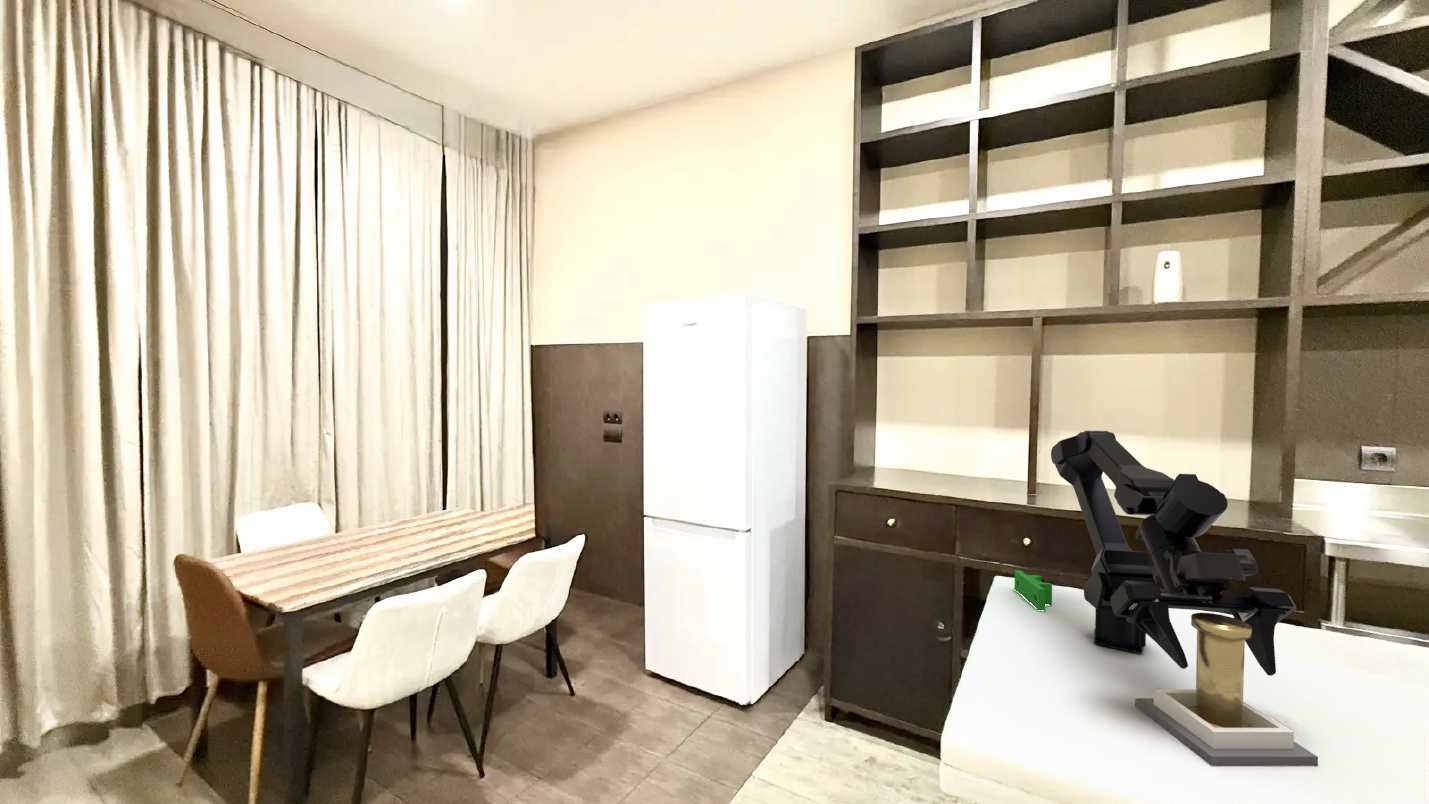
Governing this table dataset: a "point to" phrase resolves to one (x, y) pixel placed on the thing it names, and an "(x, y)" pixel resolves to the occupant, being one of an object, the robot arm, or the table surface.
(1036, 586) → the green notched block
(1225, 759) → the socket plate
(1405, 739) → the table surface
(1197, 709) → the brass fitting
